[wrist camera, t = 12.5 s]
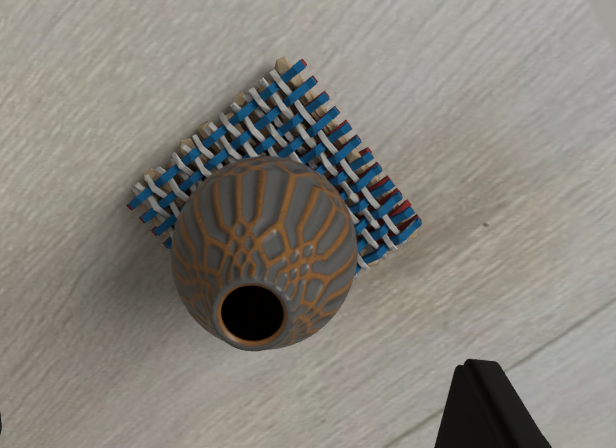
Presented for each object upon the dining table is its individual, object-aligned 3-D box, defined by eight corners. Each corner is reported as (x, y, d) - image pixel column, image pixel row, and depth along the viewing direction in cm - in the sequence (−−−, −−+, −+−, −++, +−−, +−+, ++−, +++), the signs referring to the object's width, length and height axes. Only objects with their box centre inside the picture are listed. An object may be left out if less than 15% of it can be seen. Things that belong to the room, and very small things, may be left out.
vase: (270, 108, 21) (246, 142, 12) (380, 220, 22) (424, 317, 14) (164, 218, 22) (78, 315, 14) (274, 316, 24) (256, 454, 15)
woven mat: (122, 190, 24) (106, 201, 22) (293, 46, 22) (292, 45, 20) (260, 338, 26) (257, 359, 25) (425, 222, 24) (435, 236, 22)
